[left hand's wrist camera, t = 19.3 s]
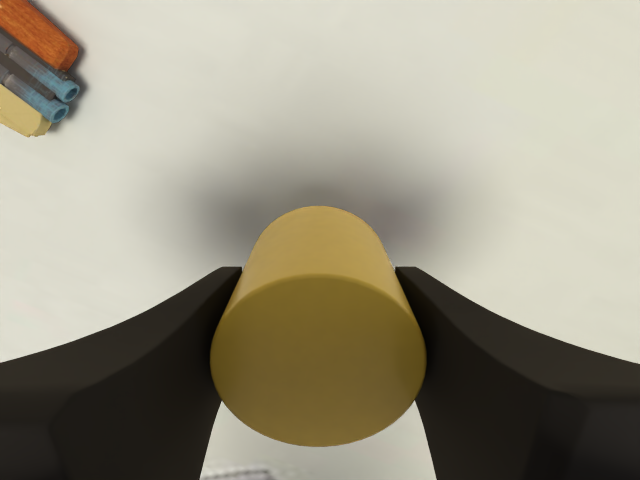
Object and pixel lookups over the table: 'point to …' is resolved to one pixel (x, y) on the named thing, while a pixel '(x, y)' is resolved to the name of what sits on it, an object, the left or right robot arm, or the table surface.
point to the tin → (318, 334)
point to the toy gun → (33, 69)
